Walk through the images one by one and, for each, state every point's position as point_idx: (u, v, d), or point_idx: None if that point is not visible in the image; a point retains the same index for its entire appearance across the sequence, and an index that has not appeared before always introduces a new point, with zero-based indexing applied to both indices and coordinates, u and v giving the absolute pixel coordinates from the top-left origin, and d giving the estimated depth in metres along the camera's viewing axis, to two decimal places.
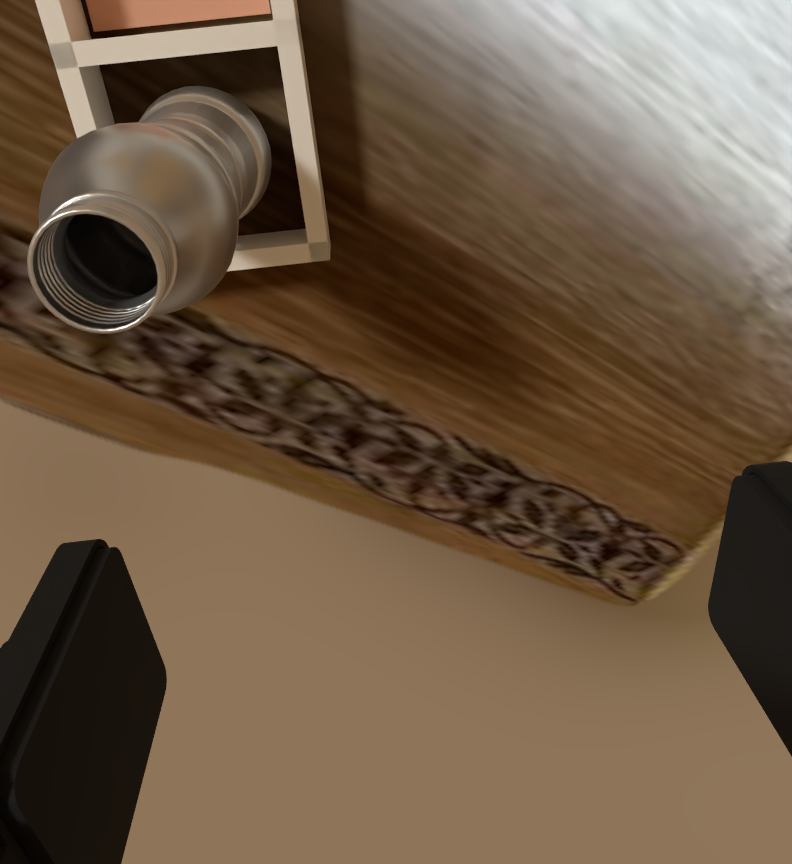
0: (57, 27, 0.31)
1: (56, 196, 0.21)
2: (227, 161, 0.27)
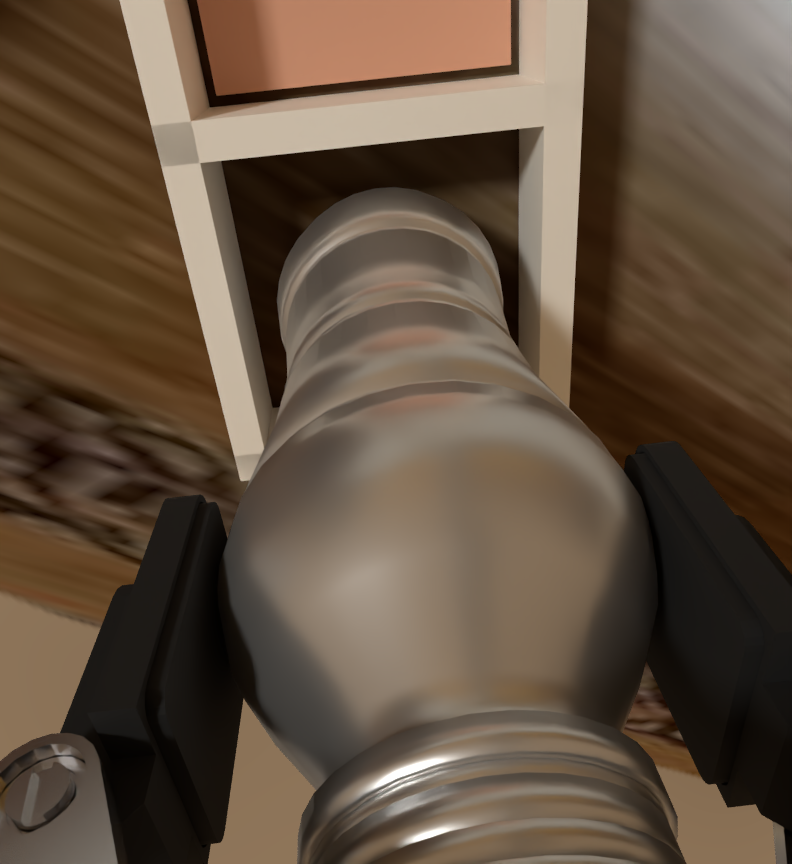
0: (168, 97, 0.17)
1: (304, 630, 0.08)
2: None
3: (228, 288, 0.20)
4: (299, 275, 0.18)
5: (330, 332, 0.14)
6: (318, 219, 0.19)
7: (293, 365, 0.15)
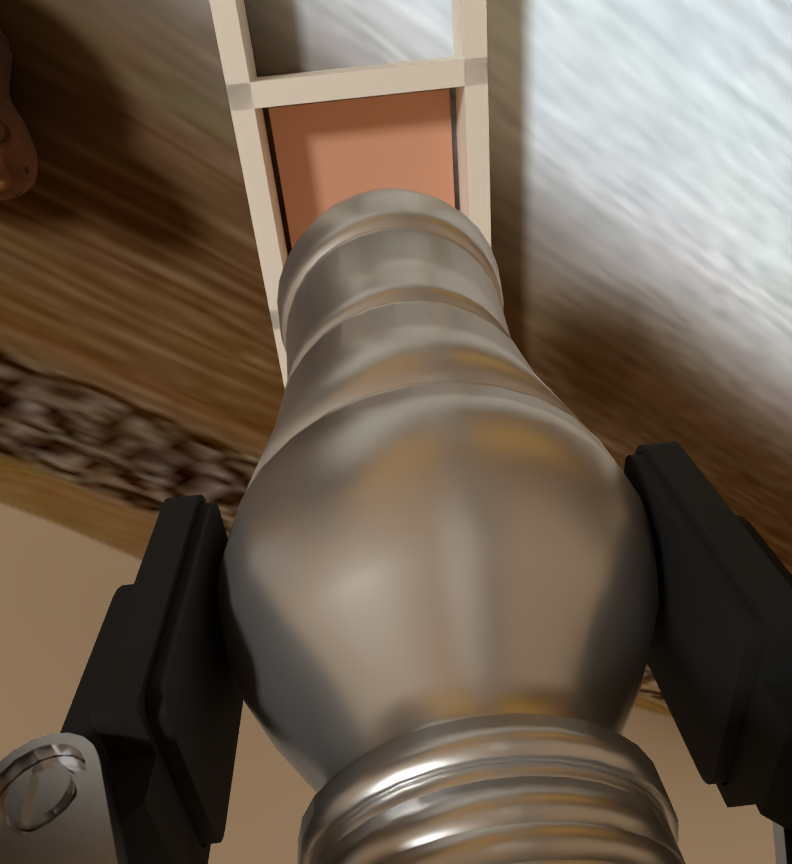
0: None
1: (304, 633, 0.08)
2: None
3: None
4: (300, 276, 0.18)
5: (330, 333, 0.14)
6: (318, 220, 0.19)
7: (293, 366, 0.15)
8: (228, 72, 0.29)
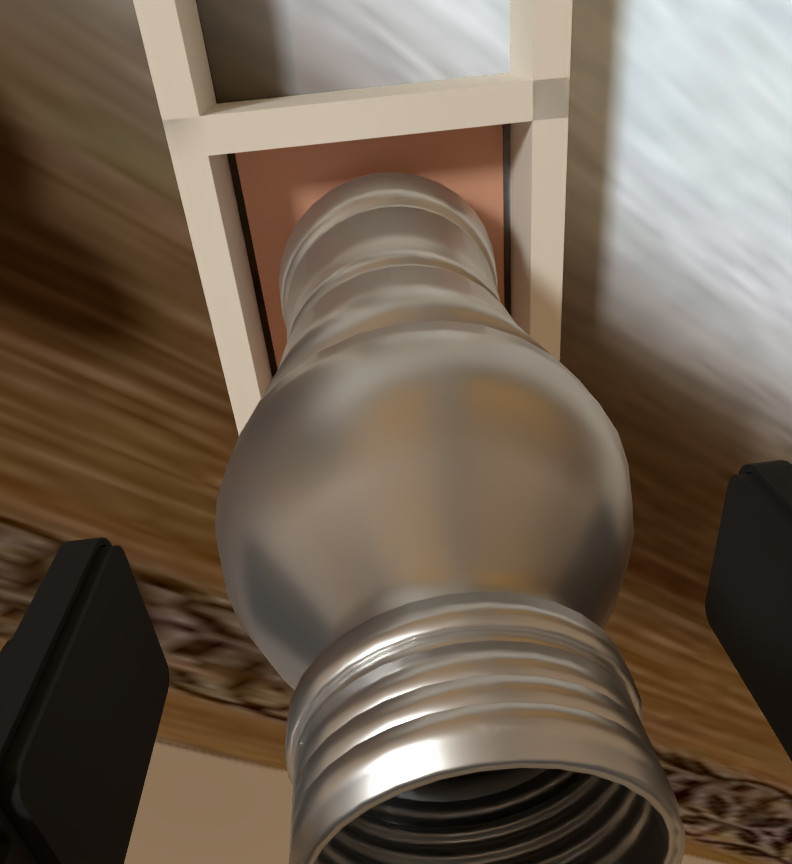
0: None
1: (295, 539, 0.09)
2: None
3: None
4: (300, 252, 0.19)
5: (327, 294, 0.14)
6: (319, 200, 0.20)
7: (292, 329, 0.15)
8: (165, 101, 0.18)
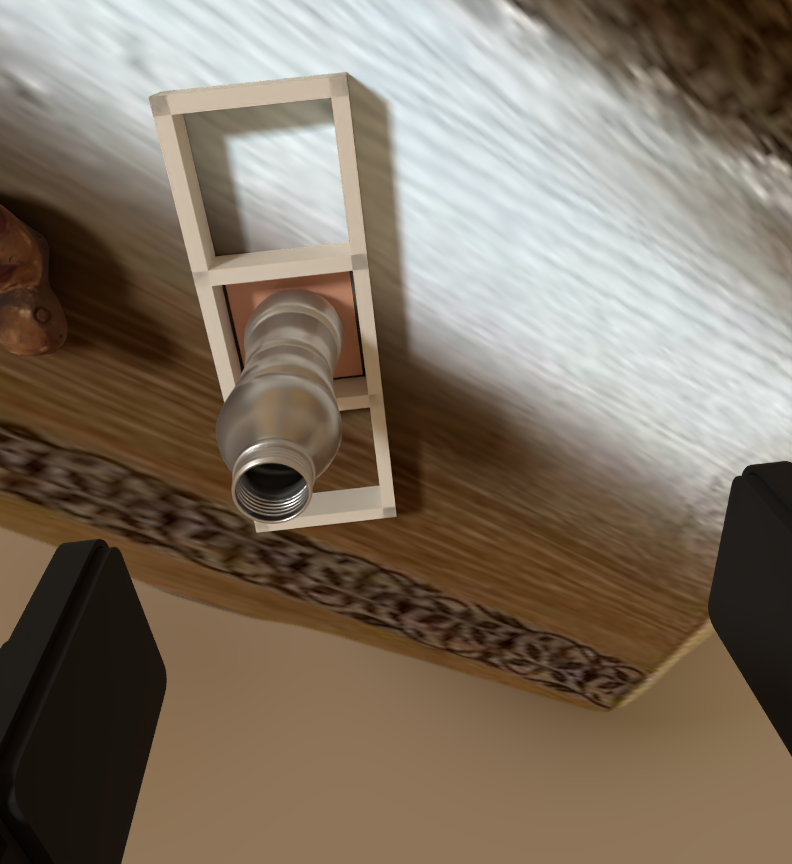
0: None
1: (236, 430, 0.34)
2: (328, 373, 0.39)
3: None
4: (251, 329, 0.44)
5: (255, 355, 0.39)
6: (261, 304, 0.45)
7: (244, 367, 0.40)
8: (193, 265, 0.43)
